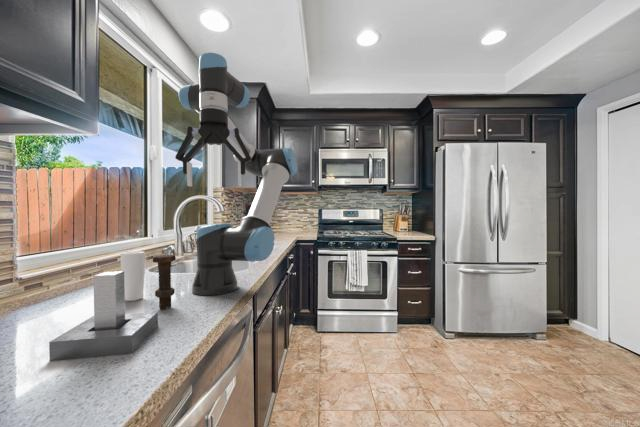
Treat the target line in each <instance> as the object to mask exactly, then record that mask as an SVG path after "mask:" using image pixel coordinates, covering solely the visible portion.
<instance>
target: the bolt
mask: <svg viewBox="0 0 640 427" xmlns="http://www.w3.org/2000/svg"><path fill="white" fill-rule="evenodd" d="M175 261H176V255H174V254H161V255H160V254H159V255H155V256H154V257H153V258H152V262H153V263H157V269H158V288H157V289H156V290H155V291H154V295H155V297H156V298H158V308H159V309H160V310H166V309H170V308H171V307H172V296H174V294H175V288H174V287H172V277H171V276H172V273H171V271H172V270H171V269H172V268H171V267H172V262H175Z"/></svg>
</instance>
